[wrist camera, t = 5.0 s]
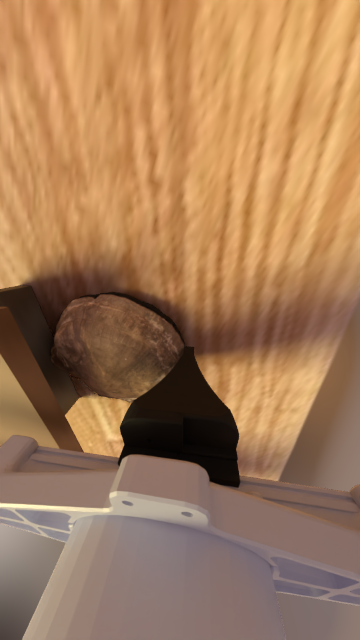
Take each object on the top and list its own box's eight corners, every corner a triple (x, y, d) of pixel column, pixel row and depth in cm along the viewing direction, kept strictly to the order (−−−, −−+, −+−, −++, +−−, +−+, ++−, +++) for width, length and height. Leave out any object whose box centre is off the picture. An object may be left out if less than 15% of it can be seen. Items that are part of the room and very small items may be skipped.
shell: (78, 257, 12) (30, 259, 8) (213, 338, 13) (218, 366, 10) (54, 356, 16) (17, 381, 13) (155, 407, 18) (146, 441, 14)
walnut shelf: (115, 401, 18) (75, 472, 12) (70, 397, 19) (11, 463, 13) (81, 285, 12) (-24, 316, 7) (18, 285, 13) (-129, 312, 7)
